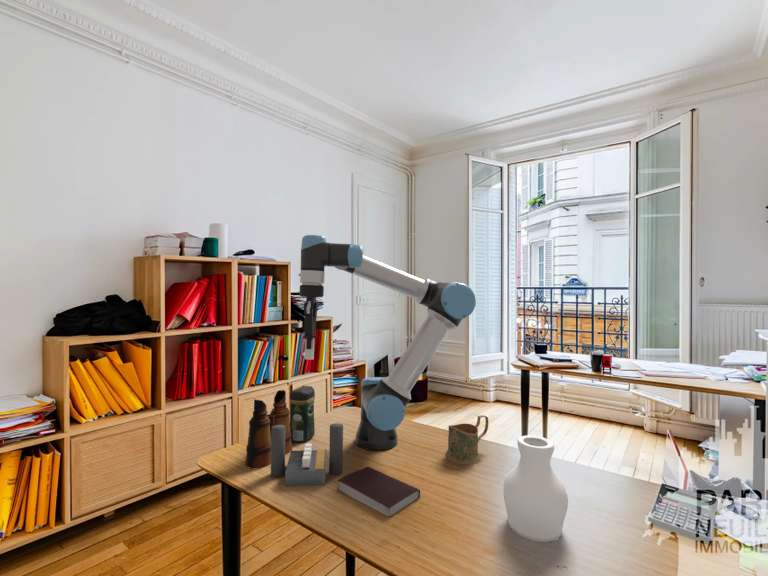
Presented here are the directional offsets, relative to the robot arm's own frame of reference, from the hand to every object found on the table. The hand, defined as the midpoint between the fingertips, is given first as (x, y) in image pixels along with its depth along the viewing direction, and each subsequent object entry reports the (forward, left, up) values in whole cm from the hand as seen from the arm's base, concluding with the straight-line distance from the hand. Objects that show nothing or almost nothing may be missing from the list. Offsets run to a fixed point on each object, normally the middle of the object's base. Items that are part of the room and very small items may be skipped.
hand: (309, 358), depth 124 cm
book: (-20, +21, -34) cm, 44 cm away
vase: (-55, +39, -33) cm, 75 cm away
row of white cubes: (0, +8, -29) cm, 30 cm away
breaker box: (0, +8, -33) cm, 34 cm away
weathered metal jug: (-53, -1, -33) cm, 63 cm away
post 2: (-9, +8, -33) cm, 35 cm away
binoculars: (+13, -5, -33) cm, 36 cm away
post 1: (+8, +8, -33) cm, 35 cm away
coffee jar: (+4, -20, -33) cm, 39 cm away
